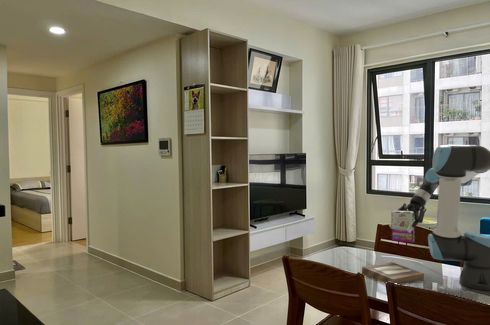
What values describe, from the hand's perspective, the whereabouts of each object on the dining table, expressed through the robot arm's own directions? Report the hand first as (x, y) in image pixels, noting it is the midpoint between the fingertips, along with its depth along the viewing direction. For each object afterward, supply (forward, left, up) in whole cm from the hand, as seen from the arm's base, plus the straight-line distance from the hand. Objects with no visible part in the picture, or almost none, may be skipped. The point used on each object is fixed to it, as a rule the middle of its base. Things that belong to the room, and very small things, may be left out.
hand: (399, 229), depth 198 cm
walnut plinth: (-13, +18, -19) cm, 29 cm away
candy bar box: (0, -3, -7) cm, 7 cm away
